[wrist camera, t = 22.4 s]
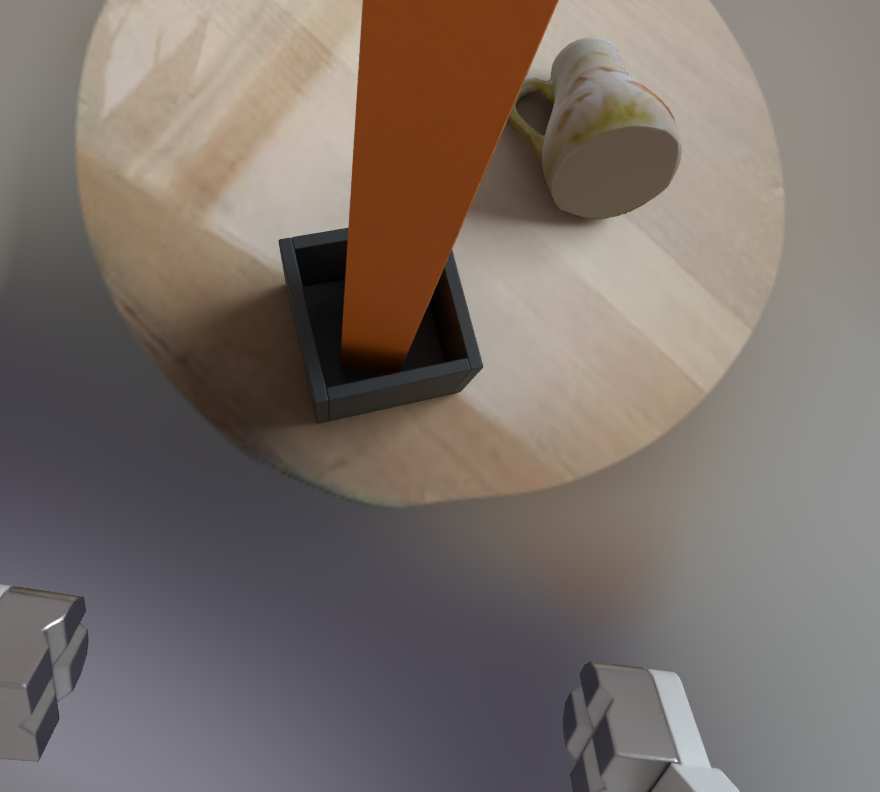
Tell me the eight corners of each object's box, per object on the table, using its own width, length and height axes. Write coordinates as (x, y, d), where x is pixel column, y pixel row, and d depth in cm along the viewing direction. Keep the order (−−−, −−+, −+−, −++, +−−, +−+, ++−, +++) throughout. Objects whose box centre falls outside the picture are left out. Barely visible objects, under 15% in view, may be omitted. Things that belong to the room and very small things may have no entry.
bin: (317, 424, 35) (315, 403, 30) (285, 283, 36) (277, 239, 31) (460, 392, 37) (483, 367, 31) (426, 257, 38) (442, 211, 32)
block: (339, 366, 35) (374, -191, 8) (353, 293, 36) (423, -429, 9) (397, 376, 36) (612, -125, 9) (409, 304, 37) (638, -360, 9)
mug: (619, 62, 43) (739, 32, 34) (584, 222, 45) (687, 233, 36) (513, 28, 40) (614, -14, 31) (481, 201, 42) (566, 208, 33)
